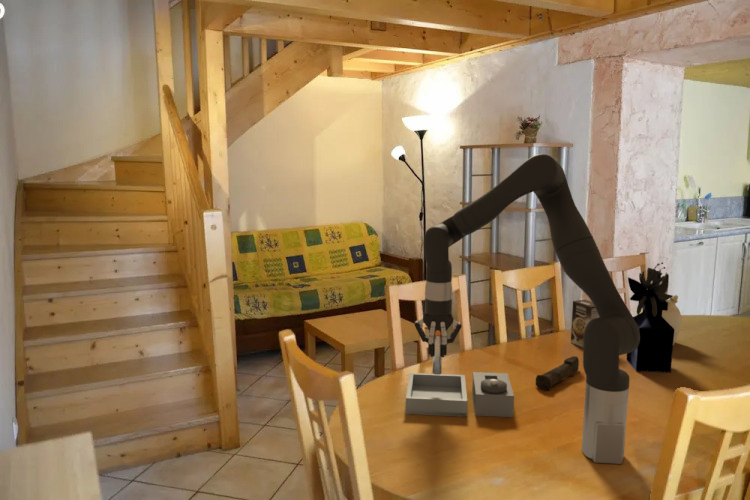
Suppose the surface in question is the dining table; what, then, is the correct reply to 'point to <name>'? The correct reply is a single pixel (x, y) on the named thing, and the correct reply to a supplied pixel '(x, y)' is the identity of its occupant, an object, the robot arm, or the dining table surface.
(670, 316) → the jug
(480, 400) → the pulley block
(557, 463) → the dining table surface
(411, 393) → the tray
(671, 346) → the vase
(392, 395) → the dining table surface
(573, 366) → the hand tool
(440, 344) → the pin
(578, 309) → the coffee box
